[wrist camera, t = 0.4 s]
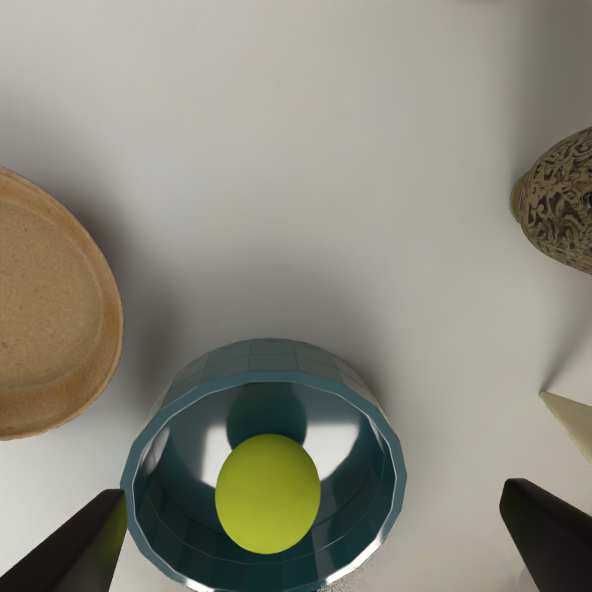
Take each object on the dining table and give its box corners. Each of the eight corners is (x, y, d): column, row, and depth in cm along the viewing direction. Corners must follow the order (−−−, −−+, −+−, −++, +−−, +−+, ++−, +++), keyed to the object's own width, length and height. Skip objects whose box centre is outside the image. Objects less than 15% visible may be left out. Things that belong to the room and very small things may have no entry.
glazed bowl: (368, 533, 27) (387, 593, 23) (152, 542, 25) (131, 609, 21) (396, 339, 23) (425, 371, 19) (137, 335, 21) (108, 369, 17)
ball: (309, 488, 24) (324, 579, 19) (221, 491, 24) (208, 586, 18) (316, 412, 23) (334, 486, 17) (221, 413, 22) (206, 490, 16)
